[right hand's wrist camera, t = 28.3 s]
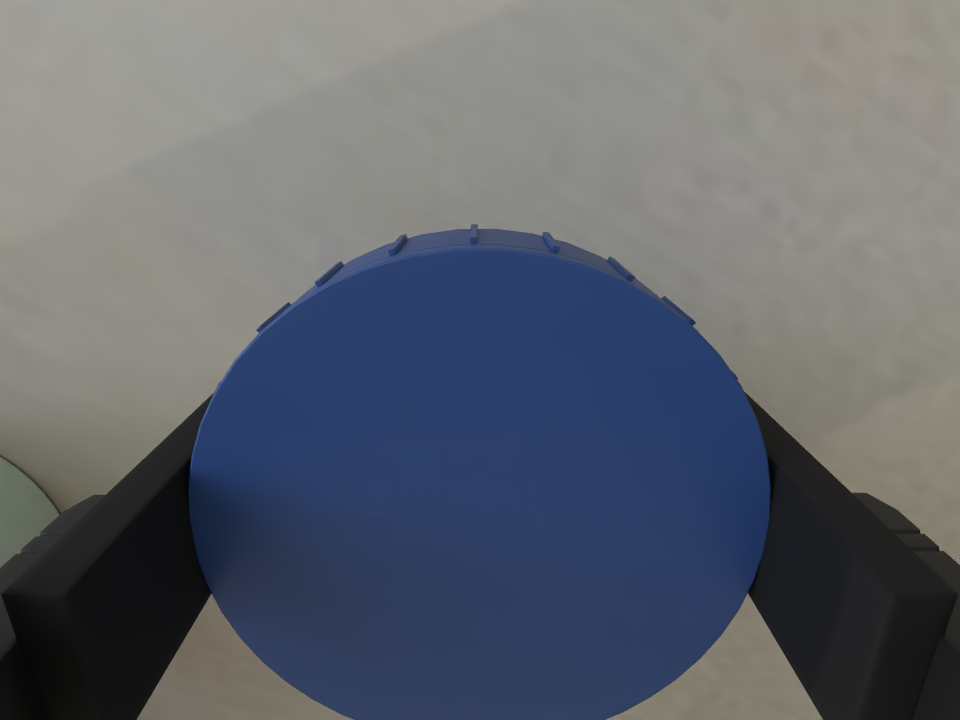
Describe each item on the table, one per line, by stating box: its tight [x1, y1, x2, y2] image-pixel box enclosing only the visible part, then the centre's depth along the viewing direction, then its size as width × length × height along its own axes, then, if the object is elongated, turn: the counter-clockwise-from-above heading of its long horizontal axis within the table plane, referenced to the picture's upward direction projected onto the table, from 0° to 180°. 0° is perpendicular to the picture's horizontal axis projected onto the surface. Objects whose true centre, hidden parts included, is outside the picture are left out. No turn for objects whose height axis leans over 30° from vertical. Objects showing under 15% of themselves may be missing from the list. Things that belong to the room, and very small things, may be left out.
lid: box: [188, 224, 771, 720], centre depth 11 cm, size 10×10×2 cm
